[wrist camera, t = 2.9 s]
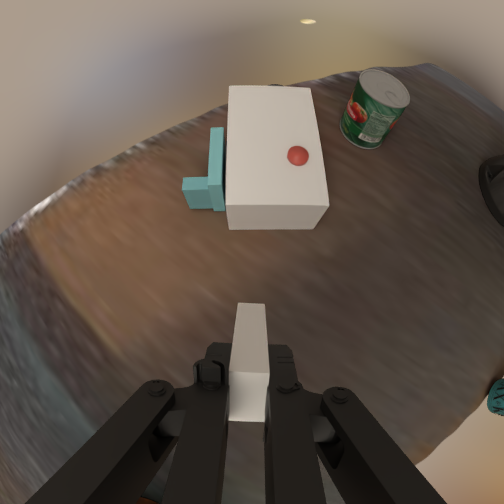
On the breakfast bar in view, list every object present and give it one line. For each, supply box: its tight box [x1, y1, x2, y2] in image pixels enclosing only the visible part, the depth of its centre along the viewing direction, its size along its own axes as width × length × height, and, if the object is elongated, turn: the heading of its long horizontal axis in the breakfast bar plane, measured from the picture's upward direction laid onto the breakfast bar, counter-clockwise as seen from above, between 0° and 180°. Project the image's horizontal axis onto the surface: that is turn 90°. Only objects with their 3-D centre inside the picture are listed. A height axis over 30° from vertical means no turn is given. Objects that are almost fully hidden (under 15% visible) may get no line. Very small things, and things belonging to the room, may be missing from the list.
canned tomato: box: [339, 69, 410, 149], centre depth 37 cm, size 8×8×11 cm
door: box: [182, 127, 226, 211], centre depth 35 cm, size 4×8×8 cm, turn 1°
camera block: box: [225, 84, 329, 230], centre depth 36 cm, size 11×20×9 cm, turn 1°
